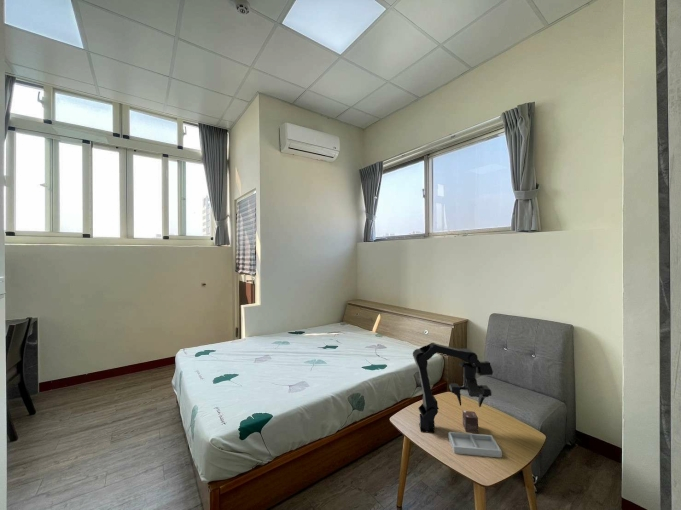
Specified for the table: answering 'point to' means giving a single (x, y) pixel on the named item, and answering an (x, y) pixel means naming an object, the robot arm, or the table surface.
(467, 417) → the box
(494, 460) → the table surface
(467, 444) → the tray
